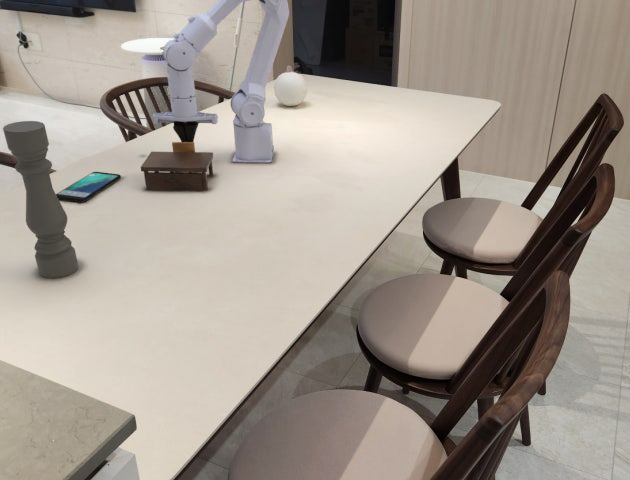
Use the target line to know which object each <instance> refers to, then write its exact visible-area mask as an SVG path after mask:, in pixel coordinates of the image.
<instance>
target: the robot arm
mask: <svg viewBox="0 0 630 480" xmlns="http://www.w3.org/2000/svg"><path fill="white" fill-rule="evenodd" d="M247 1H250V0H216V2H214V3H213V5H212V6H211V7H210V9H209V10H208V11H207V12H206V13H197V14H195V15H194V16H193V15H190V16H189V17H188V18H187V21H188V23H187V24H186V25H185V26H184V27H183V28H182V29H181V30H180V31H179V32H178V33H177V32H175V33H174V34H173V35H172V36H173V38H174V39H170V40H168V41H167V42H166V43H165V44H164V46H163V49H162V53H161V54H162V56H163V59H164V60H165V62H166V72H167V76H166V77H167V84H168V85H167V86H168V92H169V100H170V108H171V111H168V112H154V113H153V114H152V122H153V124H160V123H162V124H163V123H165V124H173V126H172V129H173V132H175V134H176V135H177V136H178V138H179V140H180V142H194V141H195V137H196V133H197V129H198V127H199V124H211V125H217V124H218V122H219V119H218V114H217V113H209V112H200V111H198V105H197V96H196V88H195V87H196V86H195V78H194V74H193V67H192V66H193V65H194V62H195V56H197V55H199V53H200V52H201V51H203V50H204V48H205V47H206V46H207V45H209V43H210V42H211V41H212V40H213V39H215V37H216V36H217V35H218V34H217V31H218V30H217V27H218V25H220V23H222V22H223V20H225V19H226V18H227V17H228V16H229V15H231V13H232V12H233V11H235V9H237V7H239V5H240V4H242V3H243V2H247ZM258 1H259V4H260V5H261V7H262V10H263V12H264V17H263V20H262V22H261V23H262V24H261V27H260V30H259V32H258V35H257V39H256V41H255V45H254V48H253V51H252V54H251V58H250V61H249V64H248V67H247V71H246V74H245V77H244V79H243V80H242V81H241V83H240V84H239V85H238V89H237V91H236V92H235V93H234V94H233V95H232V97H231V99H230V109H231V110H232V112H233V113H234V114H235V115H234V118H233V120H232V125H233V138H234V150H235V152H234V155H233V158H232V163H261V164H263V163H264V164H265V163H268V164H269V163H272V162H273V156H274V153H275V148H274V147H275V145H274V144H273V143H274V140H273V139H274V138H273V125H272V122H271V123H270V122H265V121H264V118H265V115H266V113H265V111H266V110H265V103H266V97H267V96H266V87H267V84H268V81H269V78H270V75H271V72H272V68H273V66H274V62H275V59H276V56H277V53H278V50H279V47H280V44H281V42H282V38H283V35H284V33H285V29H286V26H287V23H288V20H289V17H290V8H289V2H288V0H258ZM194 143H195V142H194Z"/></svg>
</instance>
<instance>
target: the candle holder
mask: <svg viewBox="0 0 630 480" xmlns="http://www.w3.org/2000/svg"><path fill="white" fill-rule="evenodd" d="M2 130H3V134H4V138H5V141H6V145H7V149H8V150H9V151H10V153H11V155H12V156H13V157H14V158H15V159H16V160H17V163H16V164H15V165H14V169H15V171H16V172H17V173H19V174H20V175H21V177H22V180H23V185H24V188H25V189H24V190H25V224H26V226H27V228H28V229H29V231H31V233H33V234H34V235H35V237H36V239H37V240H36V242H35V245H34V247H33V248H34V251H35V254H34V259H35V261H36V266H37V269H38V273H39V275H40V276H41V277H43V278H46V279H60V278H61V279H62V278H65V277H68V276H71V275H73V274H74V273H75V272H77V270H78V269H79V261H78V257H77V253H76V249H75V248H74V247H73V245H72V240H71V239H70V238H69V237H67V235H66V234H65V233H66V227H67V224H68V215H67V213H66V211H65V209H64V206H63V205H62V203H61V201H60V199H58V197H57V196H56V194H57V193H56V191H55V190H54V188H53V184H52V179H51V174H50V170H51V169H52V166H53V163H52V161H51V160H50V159H47V158H46V157H47V153H48V151H49V145H50V143H49V138H48V134H47V129H46V125H45V123H44V122H42V121H38V120H22V121H21V120H20V121H15V122H12V123H8V124H6V125H4V126H3V128H2Z"/></svg>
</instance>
